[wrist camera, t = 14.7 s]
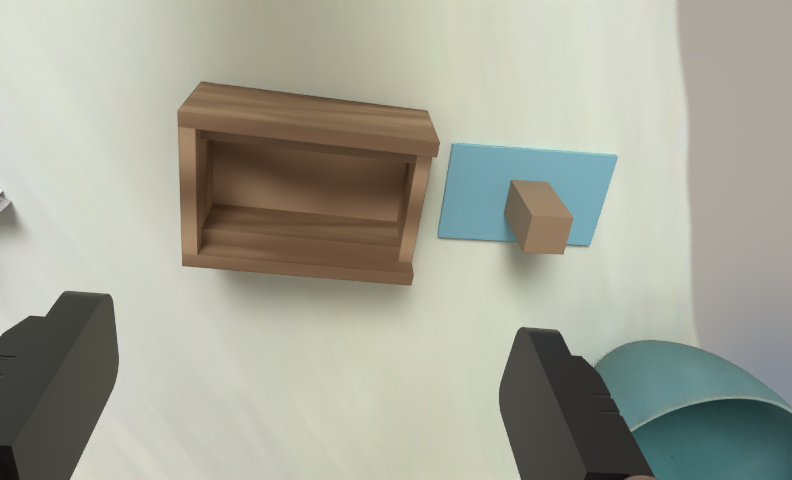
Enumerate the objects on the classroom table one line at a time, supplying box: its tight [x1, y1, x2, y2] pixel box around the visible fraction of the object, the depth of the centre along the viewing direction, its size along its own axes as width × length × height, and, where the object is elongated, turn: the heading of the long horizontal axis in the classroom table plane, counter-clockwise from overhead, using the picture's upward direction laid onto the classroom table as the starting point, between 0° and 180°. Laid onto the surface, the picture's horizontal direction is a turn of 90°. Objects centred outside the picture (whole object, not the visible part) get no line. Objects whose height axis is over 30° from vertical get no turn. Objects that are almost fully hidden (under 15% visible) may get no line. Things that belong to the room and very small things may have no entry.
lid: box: [437, 143, 618, 254], centre depth 44 cm, size 8×13×7 cm, turn 84°
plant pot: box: [595, 340, 792, 480], centre depth 52 cm, size 18×18×12 cm
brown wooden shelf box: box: [178, 82, 440, 285], centre depth 41 cm, size 11×16×6 cm
